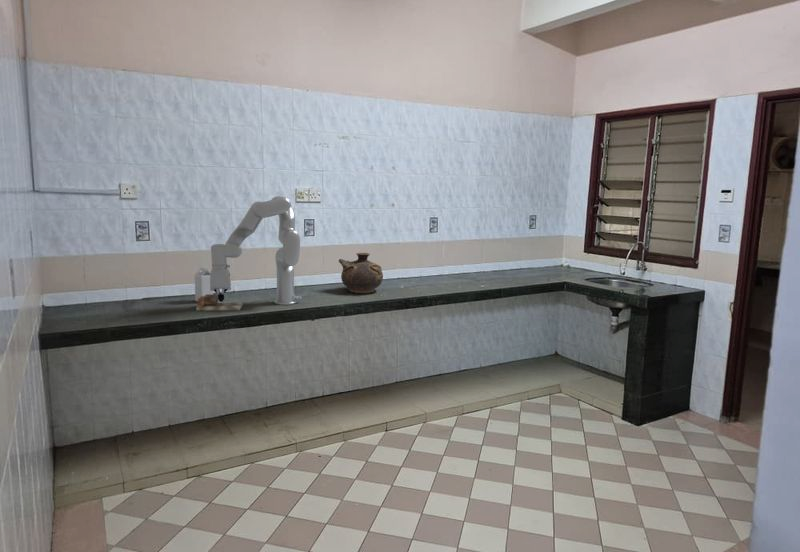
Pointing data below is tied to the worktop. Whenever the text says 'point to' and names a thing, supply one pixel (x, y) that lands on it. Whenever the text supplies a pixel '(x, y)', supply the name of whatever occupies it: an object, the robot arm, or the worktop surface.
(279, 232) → the robot arm
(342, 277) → the vessel
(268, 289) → the worktop surface
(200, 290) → the milk carton
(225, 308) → the rail board
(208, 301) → the keeper
